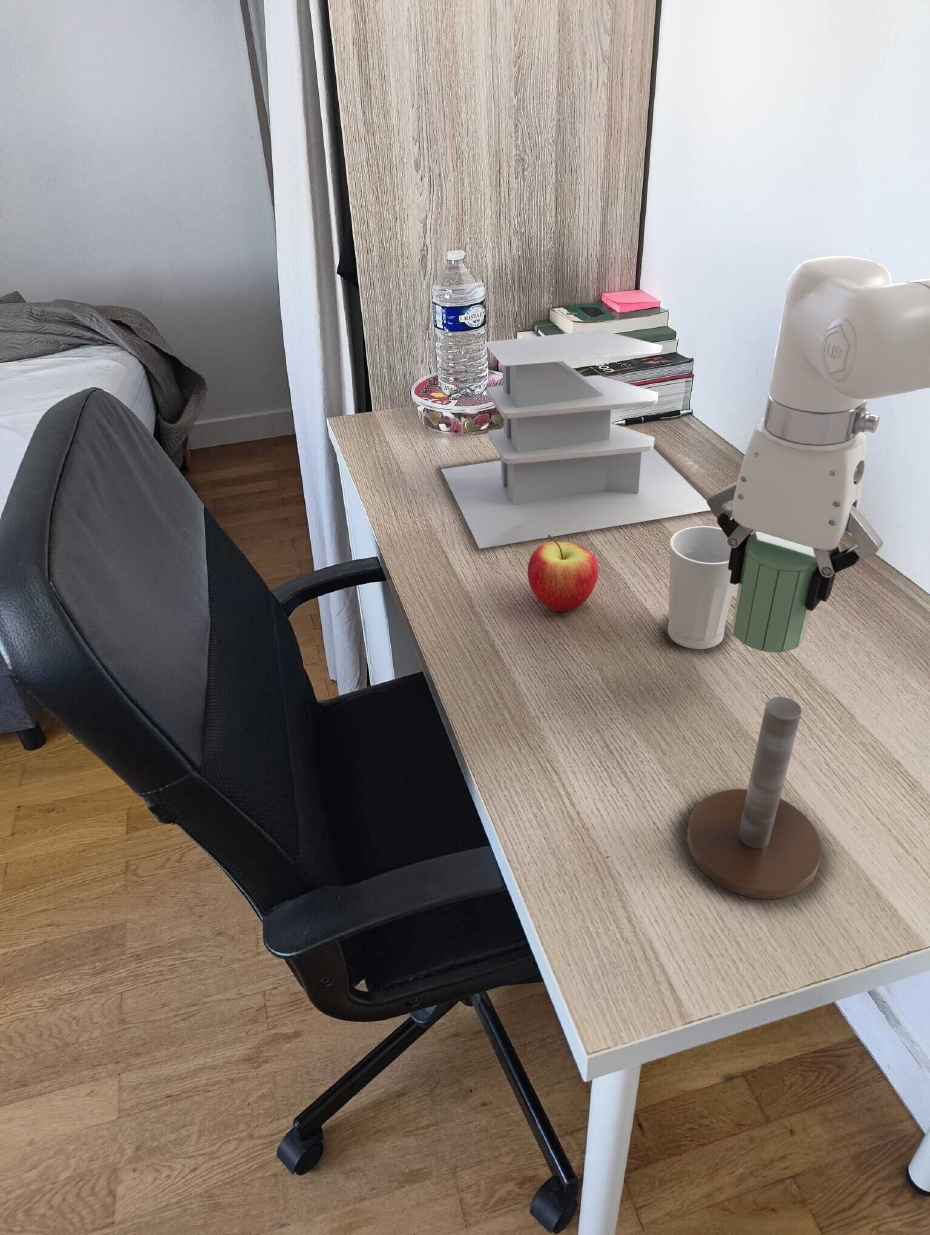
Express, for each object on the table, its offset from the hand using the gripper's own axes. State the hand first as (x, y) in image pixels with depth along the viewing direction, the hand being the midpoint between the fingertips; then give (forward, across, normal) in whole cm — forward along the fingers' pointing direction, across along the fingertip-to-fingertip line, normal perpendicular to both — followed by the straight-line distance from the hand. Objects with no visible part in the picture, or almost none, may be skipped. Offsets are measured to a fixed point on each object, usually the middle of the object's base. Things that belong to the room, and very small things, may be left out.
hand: (776, 589), depth 81 cm
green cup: (+5, 0, 0) cm, 5 cm away
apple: (+14, +26, -2) cm, 29 cm away
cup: (+14, +10, -6) cm, 18 cm away
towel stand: (+13, -8, +19) cm, 25 cm away
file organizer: (+14, +42, -28) cm, 52 cm away
